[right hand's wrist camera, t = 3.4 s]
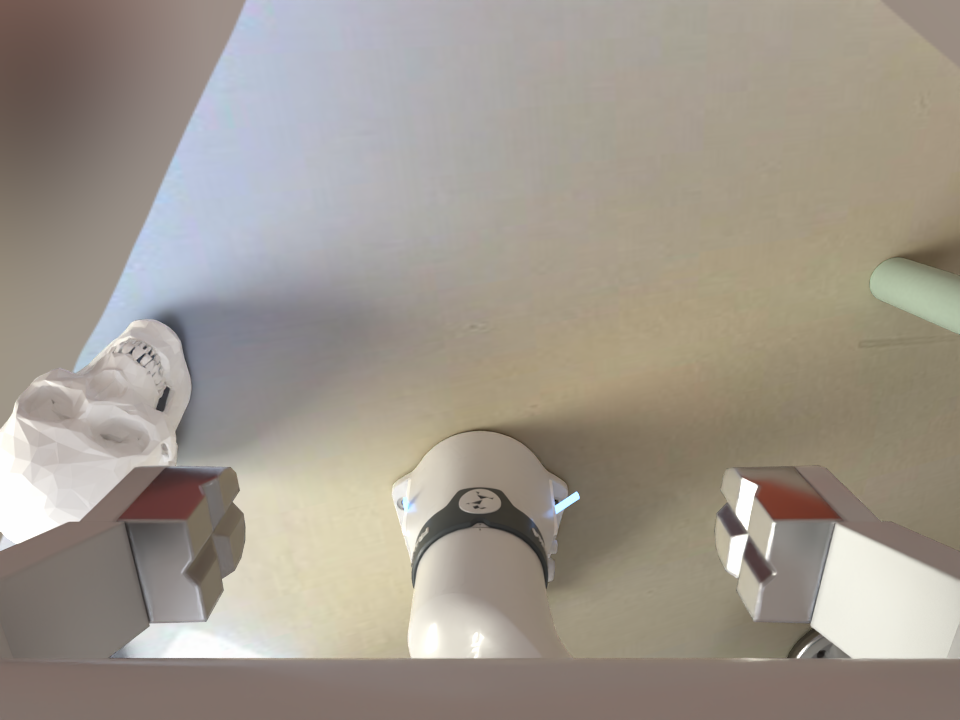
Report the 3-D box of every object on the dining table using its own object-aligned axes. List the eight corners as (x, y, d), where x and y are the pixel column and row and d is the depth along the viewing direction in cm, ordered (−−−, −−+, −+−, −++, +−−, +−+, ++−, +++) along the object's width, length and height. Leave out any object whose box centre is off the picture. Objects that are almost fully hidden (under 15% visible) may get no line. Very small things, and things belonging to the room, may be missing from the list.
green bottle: (884, 251, 57) (1014, 291, 43) (924, 265, 57) (1066, 309, 44) (860, 293, 58) (979, 345, 44) (899, 306, 59) (1028, 362, 45)
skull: (229, 339, 60) (139, 406, 45) (173, 512, 67) (80, 620, 52) (95, 283, 58) (-45, 334, 43) (52, 467, 65) (-80, 564, 50)
